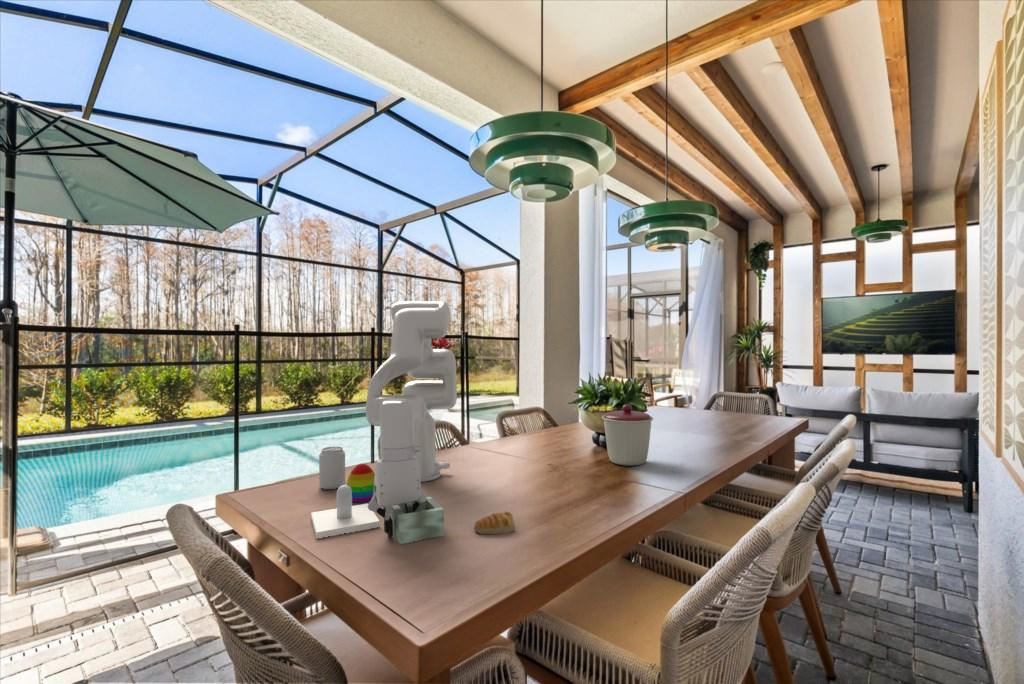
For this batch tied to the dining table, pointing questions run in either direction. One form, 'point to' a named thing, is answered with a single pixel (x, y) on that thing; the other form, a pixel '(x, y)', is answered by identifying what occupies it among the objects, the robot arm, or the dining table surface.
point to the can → (331, 467)
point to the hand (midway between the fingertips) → (398, 532)
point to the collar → (418, 522)
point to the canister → (627, 436)
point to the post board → (344, 525)
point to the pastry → (495, 524)
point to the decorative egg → (361, 483)
